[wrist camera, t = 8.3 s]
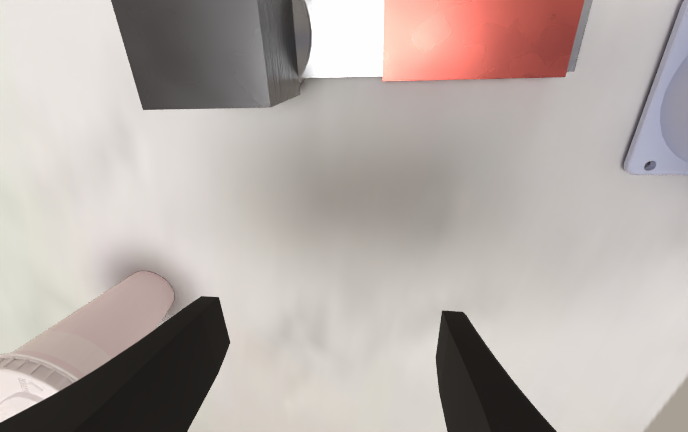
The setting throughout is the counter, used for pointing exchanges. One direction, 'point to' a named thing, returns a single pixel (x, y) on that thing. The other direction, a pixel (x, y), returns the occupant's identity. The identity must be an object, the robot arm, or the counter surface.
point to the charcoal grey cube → (210, 52)
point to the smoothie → (82, 341)
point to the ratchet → (438, 38)
